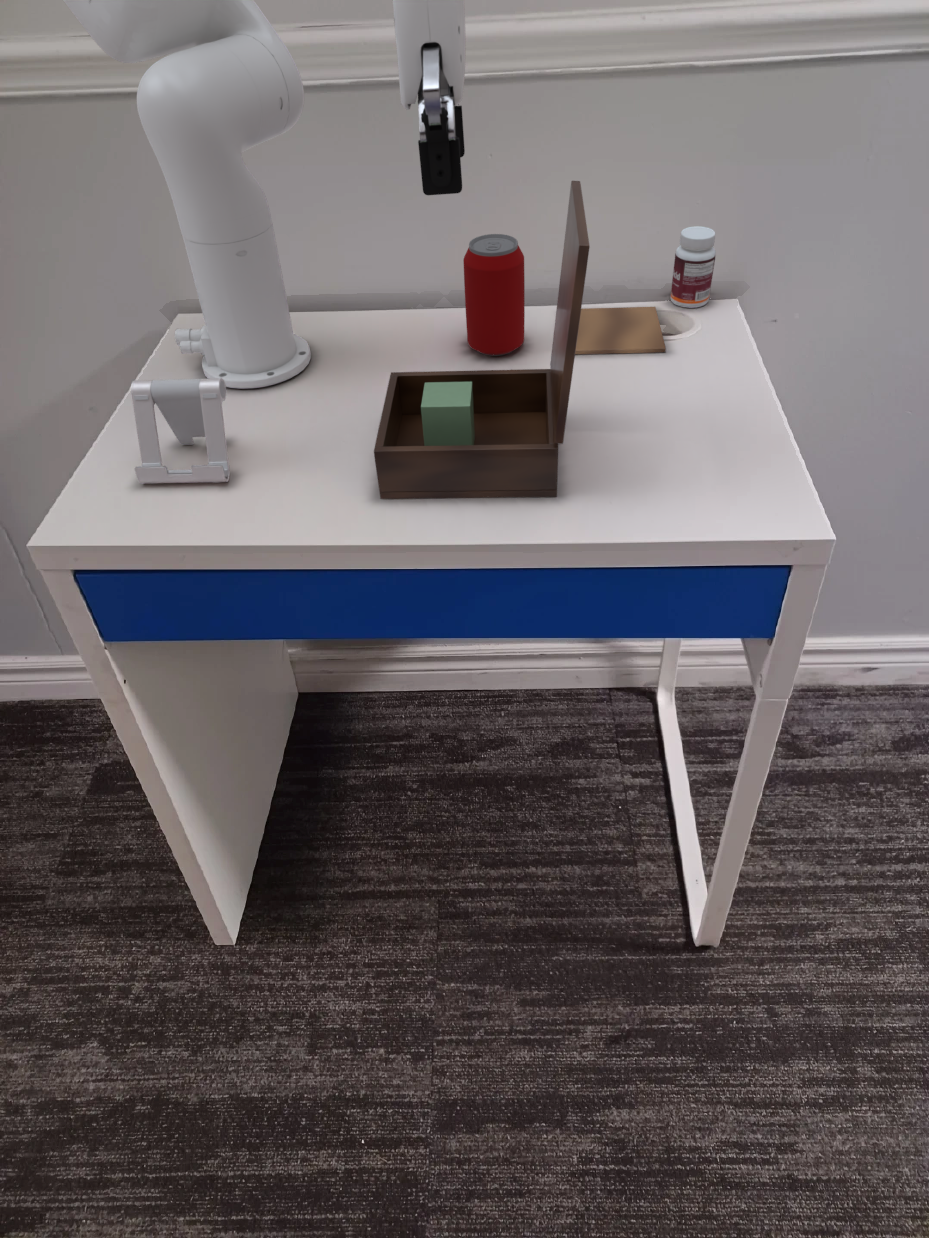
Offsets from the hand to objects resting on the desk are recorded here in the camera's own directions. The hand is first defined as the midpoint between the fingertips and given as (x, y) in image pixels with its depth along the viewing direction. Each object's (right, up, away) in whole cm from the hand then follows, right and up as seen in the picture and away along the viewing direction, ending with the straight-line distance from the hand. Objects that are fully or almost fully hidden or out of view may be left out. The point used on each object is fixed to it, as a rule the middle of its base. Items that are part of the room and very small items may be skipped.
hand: (445, 174), depth 76 cm
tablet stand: (-26, -23, +14) cm, 37 cm away
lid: (+10, -11, +2) cm, 15 cm away
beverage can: (+5, -6, +29) cm, 30 cm away
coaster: (+19, -4, +30) cm, 36 cm away
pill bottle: (+30, +2, +35) cm, 46 cm away
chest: (+2, -22, +12) cm, 25 cm away
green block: (0, -21, +12) cm, 24 cm away
